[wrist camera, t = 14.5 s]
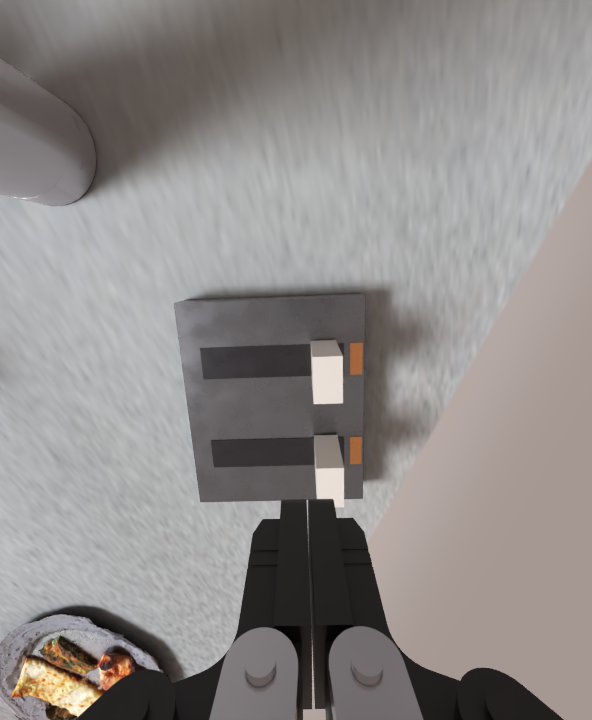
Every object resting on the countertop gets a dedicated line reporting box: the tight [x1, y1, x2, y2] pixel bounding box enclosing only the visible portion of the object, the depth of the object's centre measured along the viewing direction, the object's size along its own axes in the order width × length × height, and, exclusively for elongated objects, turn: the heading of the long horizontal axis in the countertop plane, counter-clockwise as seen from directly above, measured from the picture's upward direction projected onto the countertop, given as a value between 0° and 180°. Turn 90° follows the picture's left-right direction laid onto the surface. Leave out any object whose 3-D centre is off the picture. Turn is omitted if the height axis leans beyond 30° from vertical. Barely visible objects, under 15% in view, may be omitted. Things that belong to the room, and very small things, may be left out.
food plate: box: [0, 614, 168, 720], centre depth 49 cm, size 25×23×4 cm
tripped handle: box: [314, 435, 344, 507], centre depth 33 cm, size 2×4×6 cm, turn 2°
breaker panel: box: [174, 293, 365, 502], centre depth 36 cm, size 18×22×3 cm
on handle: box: [311, 340, 343, 404], centre depth 30 cm, size 2×4×6 cm, turn 2°
